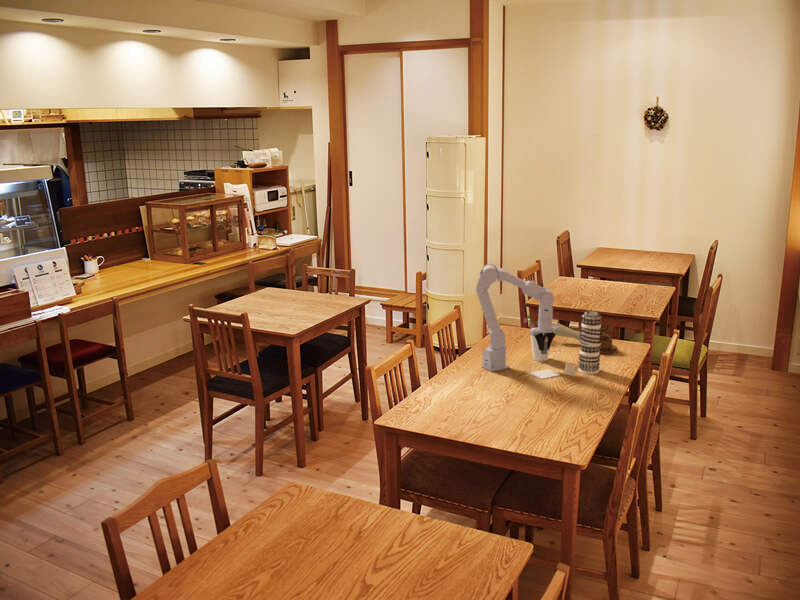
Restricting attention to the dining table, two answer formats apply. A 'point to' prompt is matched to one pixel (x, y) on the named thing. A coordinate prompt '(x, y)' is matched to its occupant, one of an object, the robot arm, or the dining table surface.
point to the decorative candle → (590, 342)
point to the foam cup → (537, 350)
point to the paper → (544, 374)
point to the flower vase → (563, 330)
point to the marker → (545, 346)
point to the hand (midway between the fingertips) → (544, 349)
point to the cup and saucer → (606, 345)
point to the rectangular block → (570, 369)
